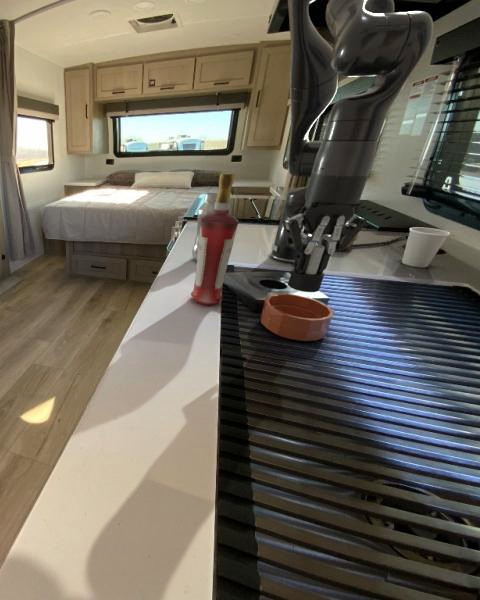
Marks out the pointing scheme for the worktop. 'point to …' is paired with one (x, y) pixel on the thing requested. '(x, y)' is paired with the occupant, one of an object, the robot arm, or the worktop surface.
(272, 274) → the sink plate
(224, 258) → the liquor
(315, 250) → the plug
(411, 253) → the dixie cup
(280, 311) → the bowl
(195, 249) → the plastic bottle
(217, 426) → the worktop surface
